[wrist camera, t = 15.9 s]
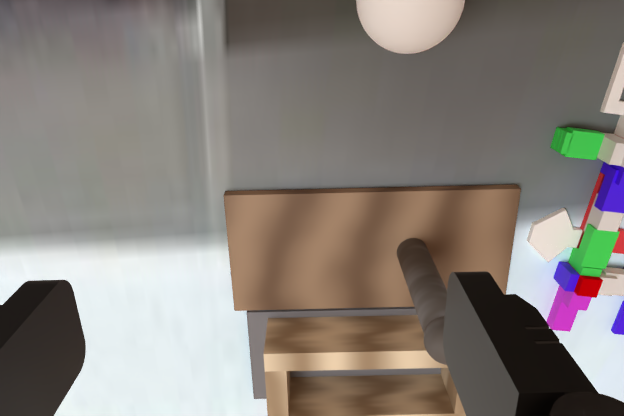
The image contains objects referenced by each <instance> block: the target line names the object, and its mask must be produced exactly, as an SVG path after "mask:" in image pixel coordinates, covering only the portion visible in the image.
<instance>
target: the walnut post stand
mask: <svg viewBox="0 0 624 416" xmlns="http://www.w3.org/2000/svg"><path fill="white" fill-rule="evenodd" d="M520 192H521V188H519V187H518V186H517V185H475V186H432V187H388V188H344V189H301V190H257V191H225V194H224V204H225V215H226V225H227V236H228V247H229V257H230V268H231V278H232V289H233V299H234V310H235V311H242V310H286V309H330V308H375V307H415V310H416V313H417V316H418V318H419V321H420V324H421V327H422V330H423V333H424V346H425V349H426V351H427V352H428V354H429V355H430V356H431V357H432V358H433V359H434V360H435V361H437V362H439V363H441V364H444V365H447V363H446V360H445V355H444V347H443V330H444V319H445V308H446V298H447V287H448V279H449V276H450V274H451V273H452V272H479V271H487V272H489V273H490V274H491V275H492V277H493V278H494V280H495V282H496V283H497V285H498V286H499V288H500V289H501V291H502V292H503V294H504V295H505V294H506V287H507V281H508V274H509V267H510V260H511V253H512V246H513V240H514V233H515V226H516V219H517V212H518V205H519V199H520Z"/></svg>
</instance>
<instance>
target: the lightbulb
mask: <svg viewBox="0 0 624 416" xmlns="http://www.w3.org/2000/svg"><path fill="white" fill-rule="evenodd" d="M356 3H357V12H358V16H359V19H360V22H361V24H362V26H363V28H364V30H365V31H366V33H367V34H368V35H369V37H370V38H371V39H372V40H374V41H375V42H376V43H377V44H378V45H380V46H382V47H383V48H385V49H387V50H389V51H392V52H396V53H402V54H412V53H419V52H422V51H425V50H428V49H430V48H432V47H433V46H435V45H437V44H439V43H440V42H441V41H442V40H444V39H445V38H446V37H447V36H448V35H449V34H450V33H451V31H452V30H453V29H454V28H455V26H456V24H457V22H458V21H459V19H460V16H461V14H462V11H463V9H464V3H465V0H356Z"/></svg>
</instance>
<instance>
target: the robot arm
mask: <svg viewBox="0 0 624 416" xmlns="http://www.w3.org/2000/svg"><path fill="white" fill-rule="evenodd" d="M443 347H444V355H445V360H446V363H447V366H448V369H449V371H450V374H451V377H452V379H453V382H454V385H455V387H456V390H457V393H458V395H459V398H460V401H461V403H462V406H463V409H464V411H465V414H466V416H624V403H623V402H622V401H619V400H617V399H615V398H612V397H609V396H606V395H603V394H599V393H598V392H597V391H596V389H595V388H594V387H593V385H592V384H591V382H590V381H589V380H588V378H587V377H586V376H585V374H584V373H583V372H582V370H581V369H580V367H579V366H578V365H577V363H576V362H575V361H574V359H573V358H572V357H571V355H570V354H569V352H568V351H567V350H566V348H565V347H564V346H563V344H562V343H559V339H558V337H557V336H556V335H555V333H554V332H553V331H552V329H549V325H548V324H547V322H546V321H545V320H544V318H543V317H542V316H541V314H540V313H539V311H538V310H537V309H536V308H535V307H533V306H532V305H531V304H529V303H528V302H526V301H525V300H523V299H522V298H520V297H519V296H517V295H516V294H510V295H504V294H503V292H502V291H501V289H500V288H499V286H498V285H497V283H496V282H495V280H494V278H493V277H492V275H491V274H490V273H489V272H487V271H479V272H452V273H451V274H450V276H449V279H448V287H447V298H446V308H445V319H444V330H443ZM84 359H85V339H84V335H83V330H82V326H81V322H80V318H79V313H78V309H77V305H76V301H75V296H74V292H73V289H72V286H71V285H70V283H69V282H68V281H66V280H43V281H27V282H25V283H24V284H23V285H22V286H21V287H20V288H19V289H18V290H17V291H16V292H15V293H14V294H13V295H12V296H11V297H10V298H9V299H8V300H7V301H6V302H5V303H4V304H3V305H0V416H54V414H55V412H56V411H57V409H58V407H59V406H60V404H61V402H62V401H63V399H64V398H65V396H66V394H67V393H68V391H69V389H70V388H71V386H72V384H73V383H74V381H75V379H76V378H77V376H78V374H79V373H80V371H81V369H82V366H83V363H84Z"/></svg>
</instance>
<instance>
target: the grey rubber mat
mask: <svg viewBox="0 0 624 416" xmlns="http://www.w3.org/2000/svg"><path fill="white" fill-rule="evenodd" d="M392 315H417V313H416V310H415V307H375V308H330V309H286V310H247V322H248V334H249V346H250V357H251V369H252V381H253V393H254V399H267V397H266V383H265V369H264V346H265V338H266V330H267V322H268V318H298V317H345V316H392ZM421 374H441V368H411V369H364V370H317V371H290V377H326V376H374V375H421Z"/></svg>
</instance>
